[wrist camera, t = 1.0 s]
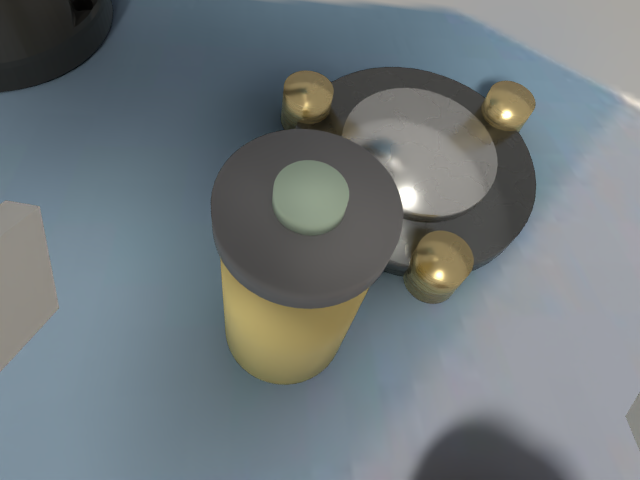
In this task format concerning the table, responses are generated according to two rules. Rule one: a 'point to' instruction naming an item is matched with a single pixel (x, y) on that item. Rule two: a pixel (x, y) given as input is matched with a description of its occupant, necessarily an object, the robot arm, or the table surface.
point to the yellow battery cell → (299, 247)
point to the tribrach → (432, 162)
